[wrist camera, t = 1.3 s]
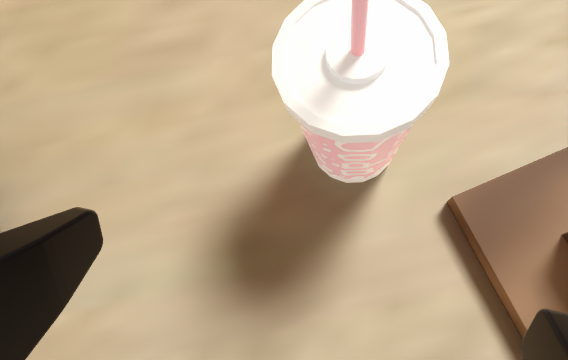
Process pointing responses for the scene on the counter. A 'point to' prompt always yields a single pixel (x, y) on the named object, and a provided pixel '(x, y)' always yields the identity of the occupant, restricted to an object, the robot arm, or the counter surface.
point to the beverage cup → (358, 78)
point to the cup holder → (522, 235)
